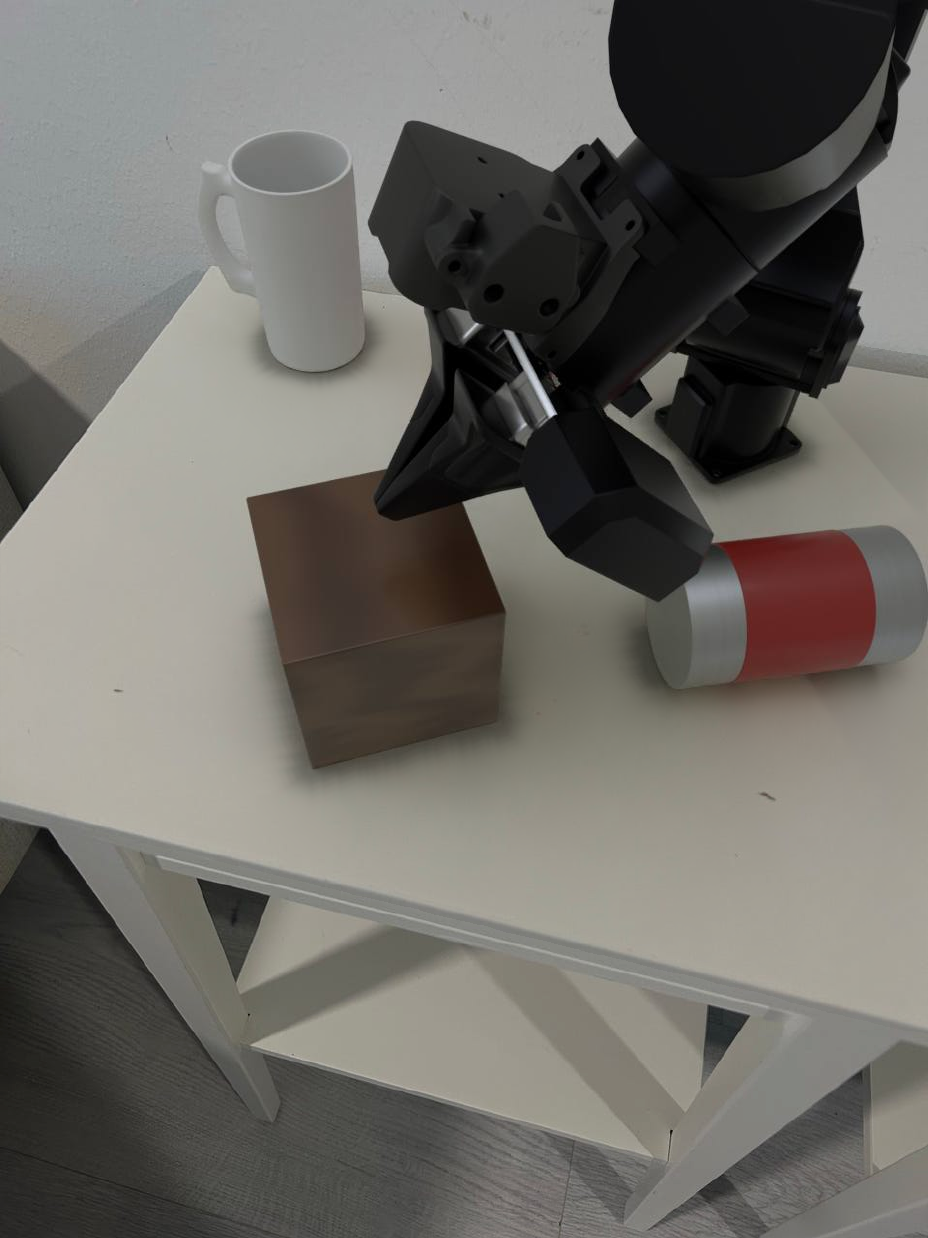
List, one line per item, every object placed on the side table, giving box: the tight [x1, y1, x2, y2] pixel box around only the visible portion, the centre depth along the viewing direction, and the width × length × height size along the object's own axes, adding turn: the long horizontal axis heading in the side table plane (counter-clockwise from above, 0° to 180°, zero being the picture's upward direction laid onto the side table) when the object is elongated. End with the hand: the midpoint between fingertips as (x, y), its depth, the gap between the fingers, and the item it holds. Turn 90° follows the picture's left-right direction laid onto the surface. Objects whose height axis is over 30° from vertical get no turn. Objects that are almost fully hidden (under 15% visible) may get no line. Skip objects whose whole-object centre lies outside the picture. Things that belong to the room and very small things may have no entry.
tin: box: [644, 524, 928, 690], centre depth 44 cm, size 7×7×11 cm
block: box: [245, 468, 507, 769], centre depth 42 cm, size 9×9×9 cm
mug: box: [196, 129, 366, 373], centre depth 55 cm, size 10×7×12 cm, turn 72°
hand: (383, 511), depth 36 cm, fingers closed
